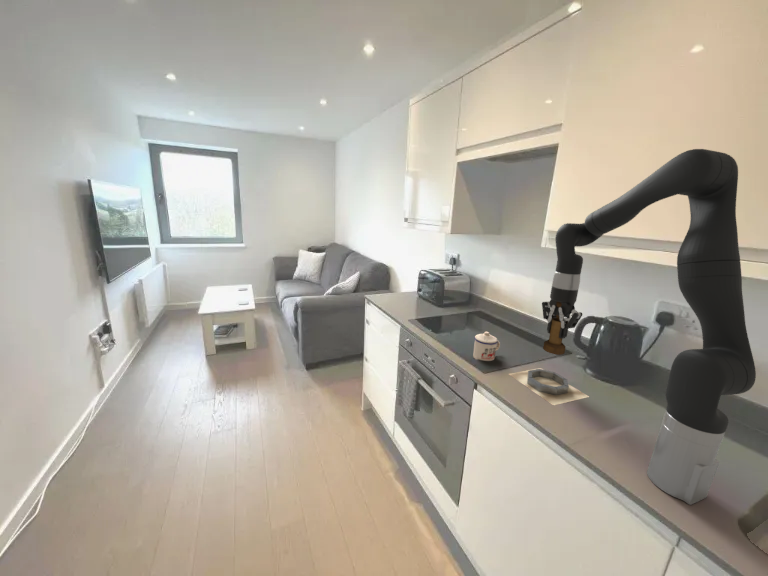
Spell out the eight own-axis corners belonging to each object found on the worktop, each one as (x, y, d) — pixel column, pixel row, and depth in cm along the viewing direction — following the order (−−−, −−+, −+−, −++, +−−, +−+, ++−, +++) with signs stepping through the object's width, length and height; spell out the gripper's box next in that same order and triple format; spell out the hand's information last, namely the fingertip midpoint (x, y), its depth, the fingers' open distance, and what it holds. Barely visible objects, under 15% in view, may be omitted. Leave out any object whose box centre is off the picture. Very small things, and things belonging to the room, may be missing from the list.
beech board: (588, 399, 102) (589, 396, 102) (552, 408, 96) (553, 405, 96) (540, 370, 120) (540, 367, 120) (507, 376, 114) (508, 373, 114)
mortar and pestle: (563, 356, 100) (572, 303, 96) (541, 351, 104) (549, 300, 100) (565, 350, 105) (574, 299, 101) (545, 345, 109) (552, 296, 105)
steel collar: (575, 391, 104) (576, 384, 104) (547, 397, 100) (549, 390, 99) (545, 373, 116) (546, 367, 115) (519, 378, 111) (520, 372, 111)
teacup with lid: (481, 364, 123) (485, 337, 120) (468, 354, 131) (470, 329, 128) (505, 360, 127) (509, 334, 124) (490, 351, 135) (493, 326, 132)
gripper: (594, 291, 94) (583, 342, 98) (555, 281, 107) (547, 327, 111) (576, 292, 91) (566, 345, 95) (538, 281, 104) (531, 329, 108)
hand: (556, 335), depth 103 cm, fingers closed on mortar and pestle, 4 cm apart
